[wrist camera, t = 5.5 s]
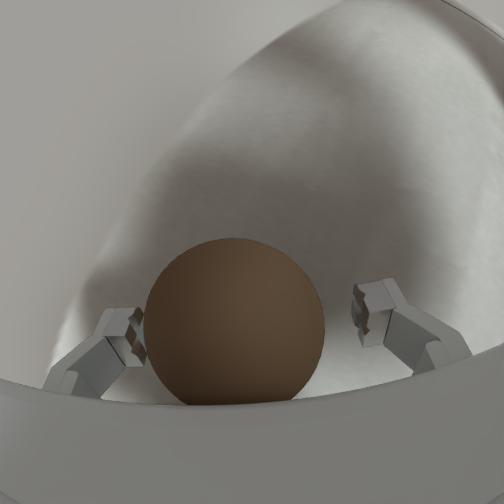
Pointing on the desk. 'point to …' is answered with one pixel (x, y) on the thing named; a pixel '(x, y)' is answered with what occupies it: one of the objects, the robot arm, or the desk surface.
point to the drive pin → (233, 325)
